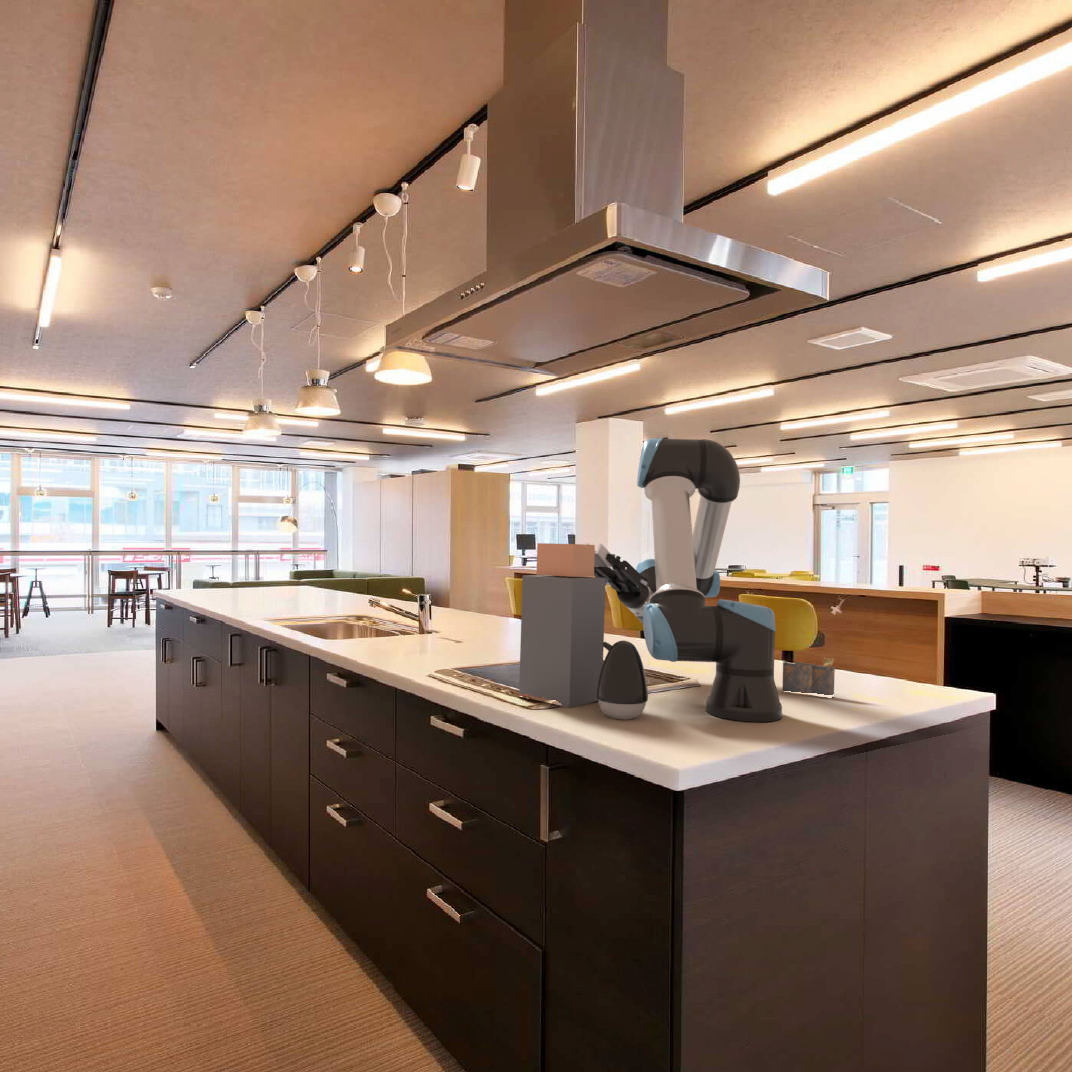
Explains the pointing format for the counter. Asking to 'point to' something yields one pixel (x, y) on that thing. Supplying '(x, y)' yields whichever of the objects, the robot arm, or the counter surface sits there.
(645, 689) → the pump dispenser
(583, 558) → the orange and grey block
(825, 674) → the ruin model on sheet
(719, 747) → the counter surface
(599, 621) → the grey tall block
